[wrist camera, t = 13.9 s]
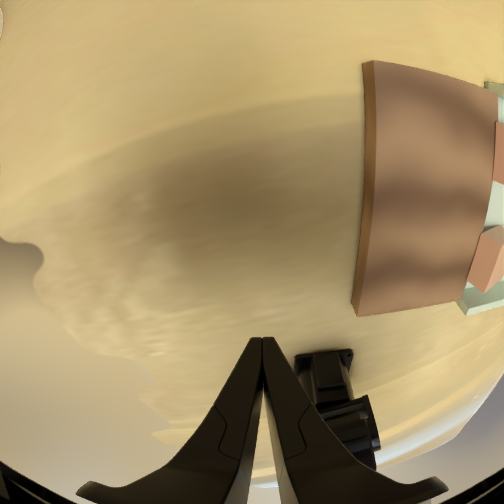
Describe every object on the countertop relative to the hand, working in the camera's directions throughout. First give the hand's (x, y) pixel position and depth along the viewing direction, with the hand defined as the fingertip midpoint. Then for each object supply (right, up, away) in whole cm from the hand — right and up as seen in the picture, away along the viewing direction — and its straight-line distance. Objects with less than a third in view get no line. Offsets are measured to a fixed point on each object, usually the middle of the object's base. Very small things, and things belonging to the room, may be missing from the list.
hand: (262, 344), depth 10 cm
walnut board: (+14, +8, +9) cm, 18 cm away
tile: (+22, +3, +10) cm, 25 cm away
